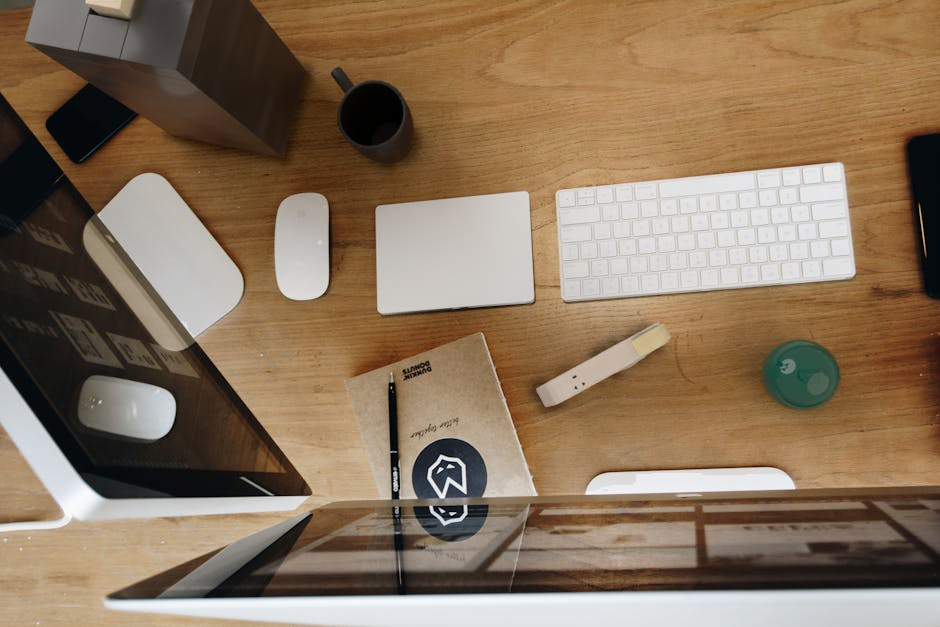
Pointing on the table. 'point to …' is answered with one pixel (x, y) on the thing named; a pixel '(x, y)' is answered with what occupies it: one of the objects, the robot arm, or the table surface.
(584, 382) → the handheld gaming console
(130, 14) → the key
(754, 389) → the table surface
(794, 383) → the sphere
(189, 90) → the piano
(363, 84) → the mug
